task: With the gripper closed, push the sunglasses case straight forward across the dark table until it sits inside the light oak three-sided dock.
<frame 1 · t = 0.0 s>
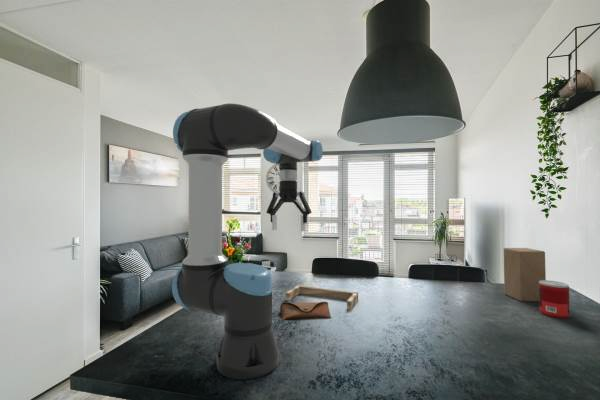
hand: (288, 230, 121), 28 cm above the table, tool pointing down, fingers open, 13 cm apart
sunglasses case: (305, 316, 101), on the table
canned food: (554, 314, 100), on the table
wooden block: (524, 298, 118), on the table
dock: (321, 300, 116), on the table
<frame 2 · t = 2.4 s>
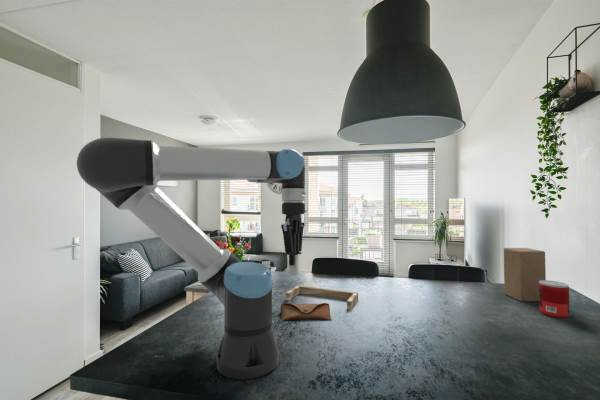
hand: (293, 274, 92), 16 cm above the table, tool pointing down, fingers closed
sunglasses case: (305, 318, 100), on the table
everything else where it was.
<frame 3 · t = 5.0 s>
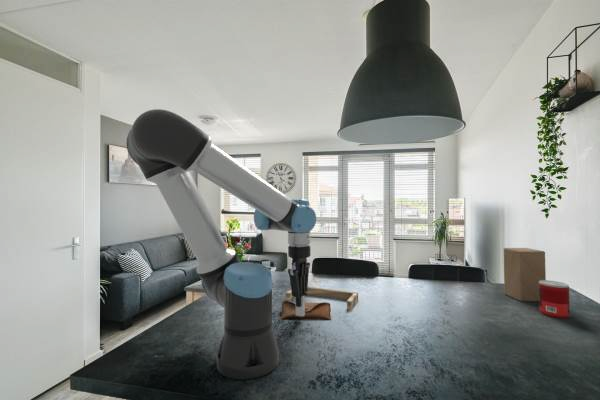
hand: (300, 315, 96), 2 cm above the table, tool pointing down, fingers closed
sunglasses case: (306, 316, 101), on the table, touching gripper
everything else where it was.
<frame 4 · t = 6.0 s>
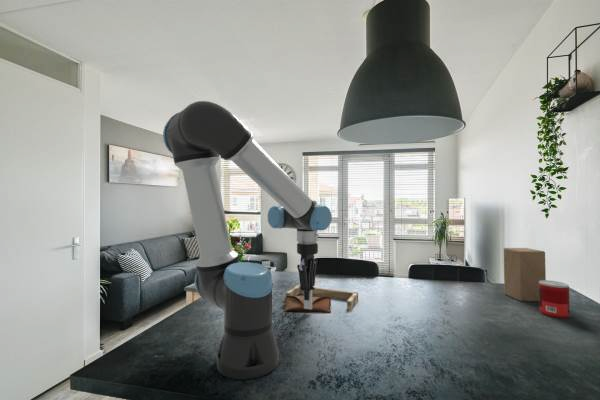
hand: (308, 308, 103), 2 cm above the table, tool pointing down, fingers closed
sunglasses case: (307, 309, 107), on the table
everything else where it was.
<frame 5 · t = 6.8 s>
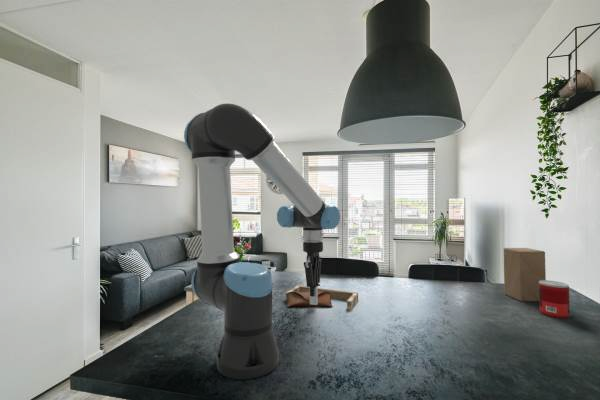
hand: (313, 304, 107), 2 cm above the table, tool pointing down, fingers closed
sunglasses case: (309, 304, 112), on the table, touching dock, gripper
everything else where it was.
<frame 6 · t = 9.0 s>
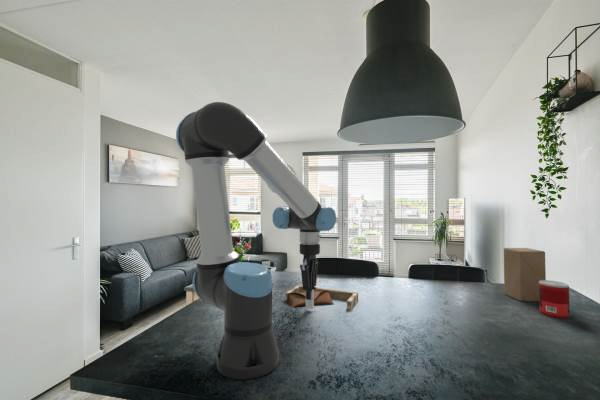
hand: (309, 307, 105), 1 cm above the table, tool pointing down, fingers closed
sunglasses case: (310, 304, 114), on the table
everything else where it was.
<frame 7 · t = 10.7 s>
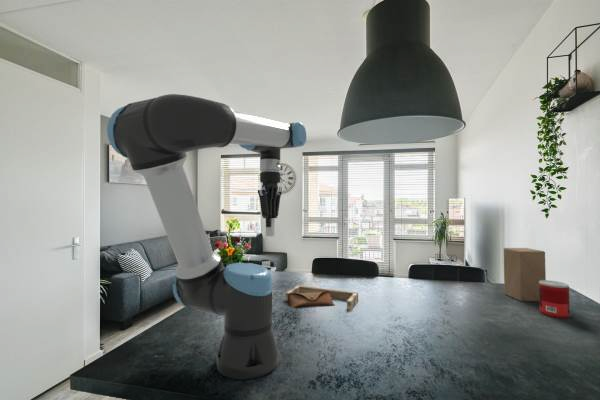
hand: (270, 235, 105), 27 cm above the table, tool pointing down, fingers closed
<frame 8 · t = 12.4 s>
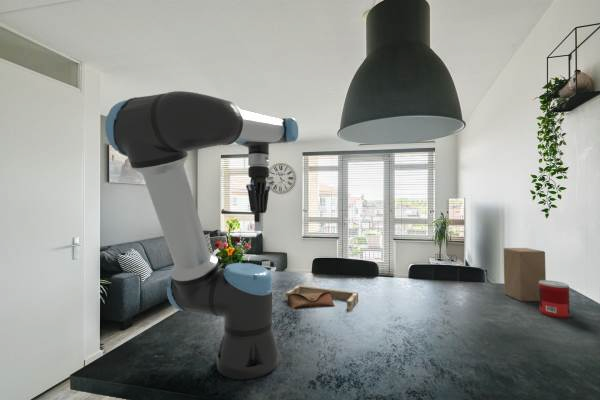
hand: (258, 230, 105), 29 cm above the table, tool pointing down, fingers closed
at the end: sunglasses case inside the target area on the dock (5.5 cm from its centre), point -0.7 cm above the dock's base; sunglasses case tilted 2° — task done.
